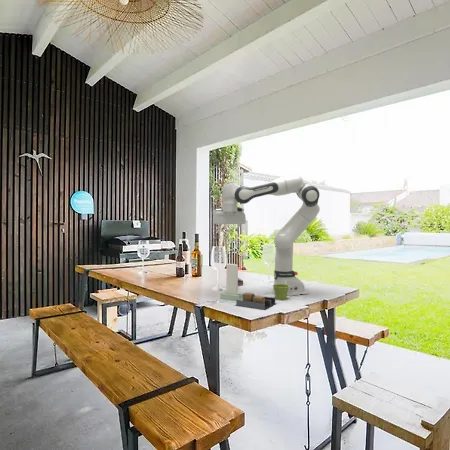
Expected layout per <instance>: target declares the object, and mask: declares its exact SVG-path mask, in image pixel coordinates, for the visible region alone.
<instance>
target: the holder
mask: <svg viewBox="0 0 450 450" xmlns="http://www.w3.org/2000/svg"><path fill="white" fill-rule="evenodd" d="M243 294H244V293H239V292H238V296H237V295H229V294H226V291H224V293H220V295H219V297H220V298H218V299H215V300H216V302H217V301H221V302H228V303H235V304H236V300H243Z"/></svg>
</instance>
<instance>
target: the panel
mask: <svg viewBox="0 0 450 450" xmlns="http://www.w3.org/2000/svg"><path fill="white" fill-rule="evenodd" d="M238 278H239V264H237V263H226V291H225V292H226V294H229V295H237V296H238V293H239V292H238V291H239V286H238Z"/></svg>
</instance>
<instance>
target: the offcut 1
mask: <svg viewBox="0 0 450 450" xmlns="http://www.w3.org/2000/svg"><path fill="white" fill-rule="evenodd" d="M242 294H243V300H244V301H251V302H253V297H254V295H255V293H253V292H245V293H242Z"/></svg>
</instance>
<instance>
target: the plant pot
mask: <svg viewBox="0 0 450 450" xmlns="http://www.w3.org/2000/svg"><path fill="white" fill-rule="evenodd" d="M273 287H274V291H275V293H274V298H275V300H278V301H279V300H280V301H281V300H282V301H285V300H287V299H288V298H287V297H288V296H287V292H288V288H289V285H285V284H275V285H274V284H273V285H272V288H273Z"/></svg>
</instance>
